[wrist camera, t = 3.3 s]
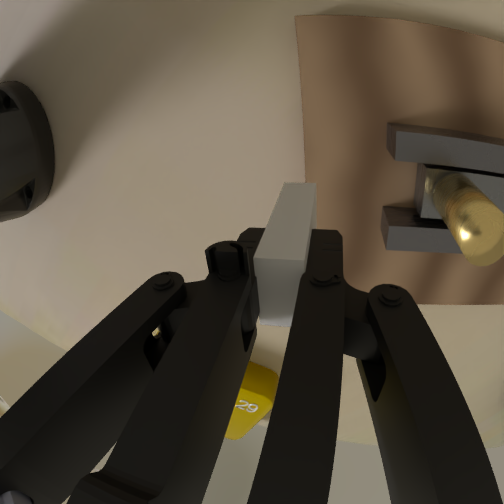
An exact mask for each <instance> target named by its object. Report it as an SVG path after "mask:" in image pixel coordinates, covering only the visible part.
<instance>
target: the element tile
mask: <svg viewBox="0 0 504 504" xmlns="http://www.w3.org/2000/svg"><path fill="white" fill-rule="evenodd" d="M158 333H159V331H158ZM158 333H157V334H158ZM157 334H156V335H157ZM278 381H279V377H278V375H277V374H276V373H275V372H274V371H272V370H270V369H268V368H266V367H264V366H261V365H258V364H256V363H253V362H251V361H249V362H248V365H247V369H246V372H245V375H244V378H243V381H242V384H241V388H240V391H239V394H238V397H237V400H236V403H235V406H234V409H233V412H232V415H231V418H230V422H229V425H228V428H227V431H226V434H225V438H228V439H231V440H236V439H240V438H242V437H243V436H244V435H245V434H246V433H247V432H248V431H249V430H250V429H252V428H253V427H254V426H255V425H256V424H257V423H258V422H259V421H260V420H261V419H262V418H263V417H264V416H265V415H266V414H267V413H268V412H269V411H270V410H271V409H272V407H273V404H274V399H275V395H276V390H277V386H278Z"/></svg>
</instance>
